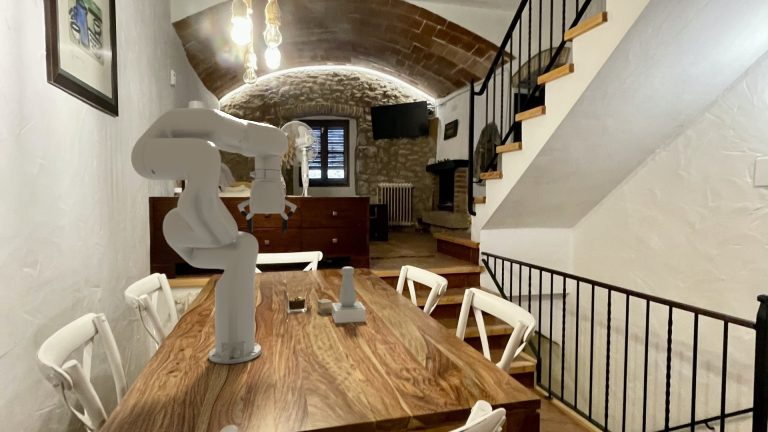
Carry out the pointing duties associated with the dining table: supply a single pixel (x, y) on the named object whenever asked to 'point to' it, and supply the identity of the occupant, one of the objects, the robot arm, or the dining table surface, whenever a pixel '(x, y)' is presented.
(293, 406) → the dining table surface
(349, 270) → the salt shaker
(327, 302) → the tan block
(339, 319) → the base block
